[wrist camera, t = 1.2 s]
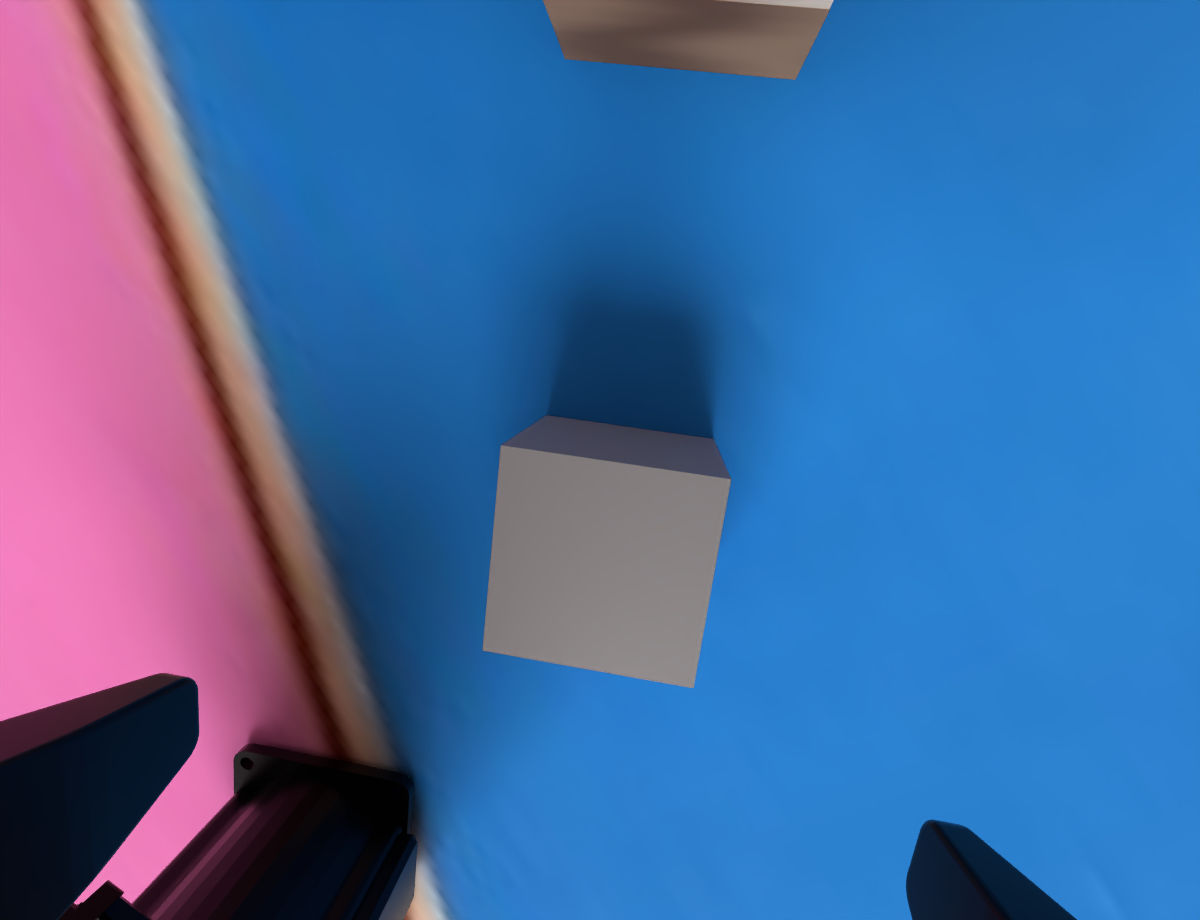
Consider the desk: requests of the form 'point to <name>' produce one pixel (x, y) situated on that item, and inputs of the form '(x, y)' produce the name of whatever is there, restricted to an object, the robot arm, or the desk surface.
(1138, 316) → the desk surface
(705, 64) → the tower bottom
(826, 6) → the tower top
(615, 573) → the cube
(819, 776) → the desk surface
